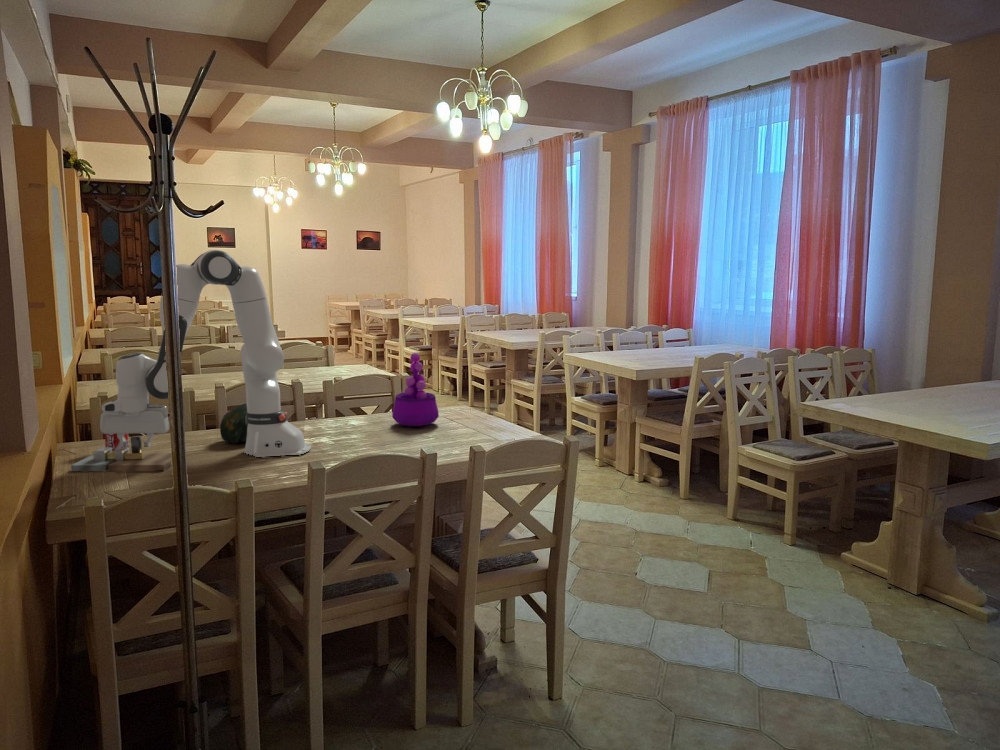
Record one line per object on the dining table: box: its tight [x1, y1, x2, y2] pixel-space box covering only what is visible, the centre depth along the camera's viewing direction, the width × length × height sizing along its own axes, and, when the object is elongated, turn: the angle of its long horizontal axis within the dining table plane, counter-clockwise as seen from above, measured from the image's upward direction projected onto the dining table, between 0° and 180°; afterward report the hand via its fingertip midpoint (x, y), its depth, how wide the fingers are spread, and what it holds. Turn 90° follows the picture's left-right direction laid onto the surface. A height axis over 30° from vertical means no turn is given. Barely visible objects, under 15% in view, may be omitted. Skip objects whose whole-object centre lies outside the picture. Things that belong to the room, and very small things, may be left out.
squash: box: [219, 402, 247, 445], centre depth 259 cm, size 14×15×15 cm
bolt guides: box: [93, 446, 130, 461], centre depth 227 cm, size 8×5×3 cm, turn 94°
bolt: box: [92, 435, 146, 459], centre depth 227 cm, size 15×3×7 cm, turn 94°
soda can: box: [104, 434, 130, 451], centre depth 243 cm, size 7×7×13 cm
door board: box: [70, 452, 172, 472], centre depth 228 cm, size 28×14×2 cm, turn 94°
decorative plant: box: [391, 352, 440, 427], centre depth 288 cm, size 19×18×30 cm
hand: (136, 446), depth 227 cm, fingers open, 5 cm apart
